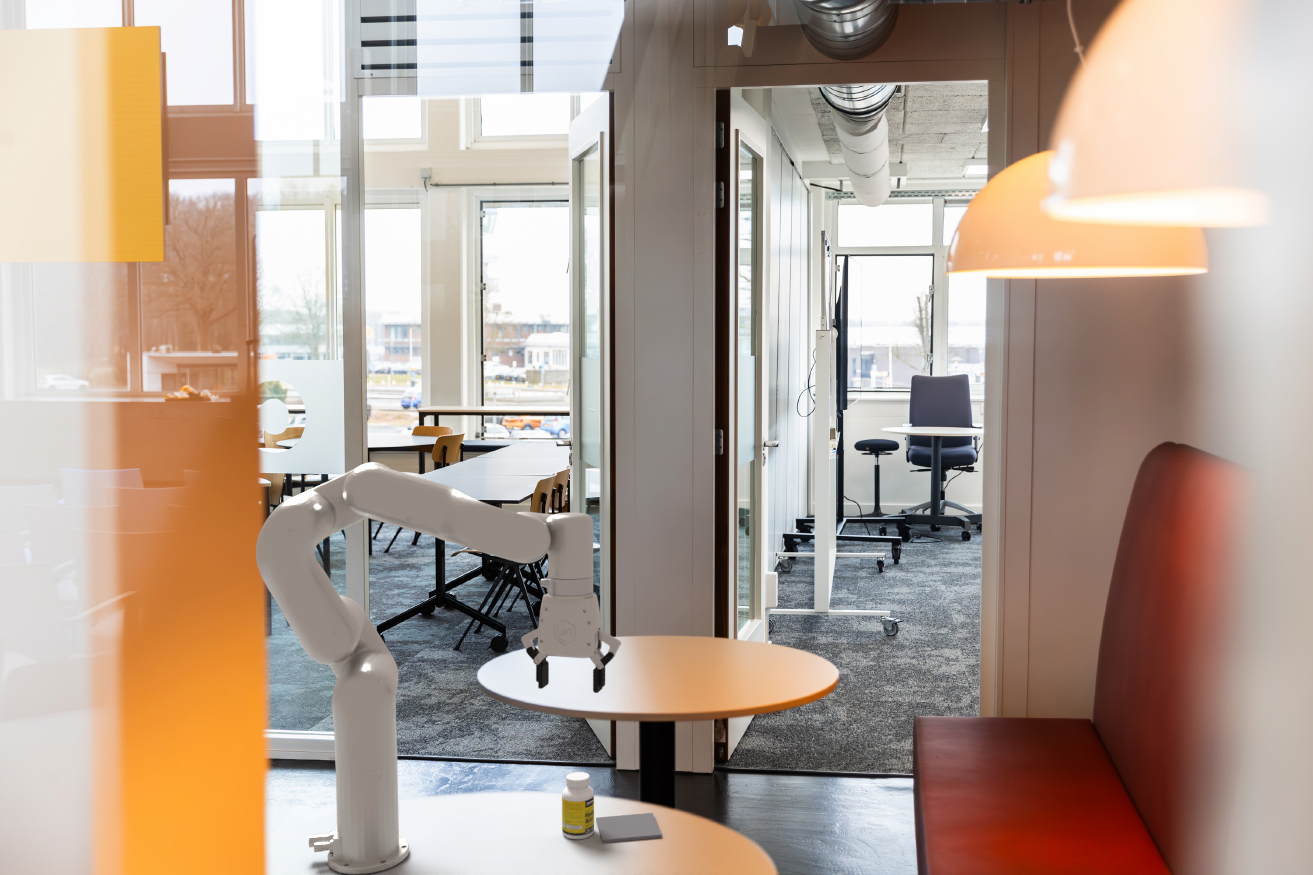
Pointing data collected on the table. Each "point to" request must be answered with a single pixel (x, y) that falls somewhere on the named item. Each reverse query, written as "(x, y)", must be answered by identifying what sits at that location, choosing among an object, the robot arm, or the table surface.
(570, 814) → the supplement bottle
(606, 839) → the mat
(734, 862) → the table surface
